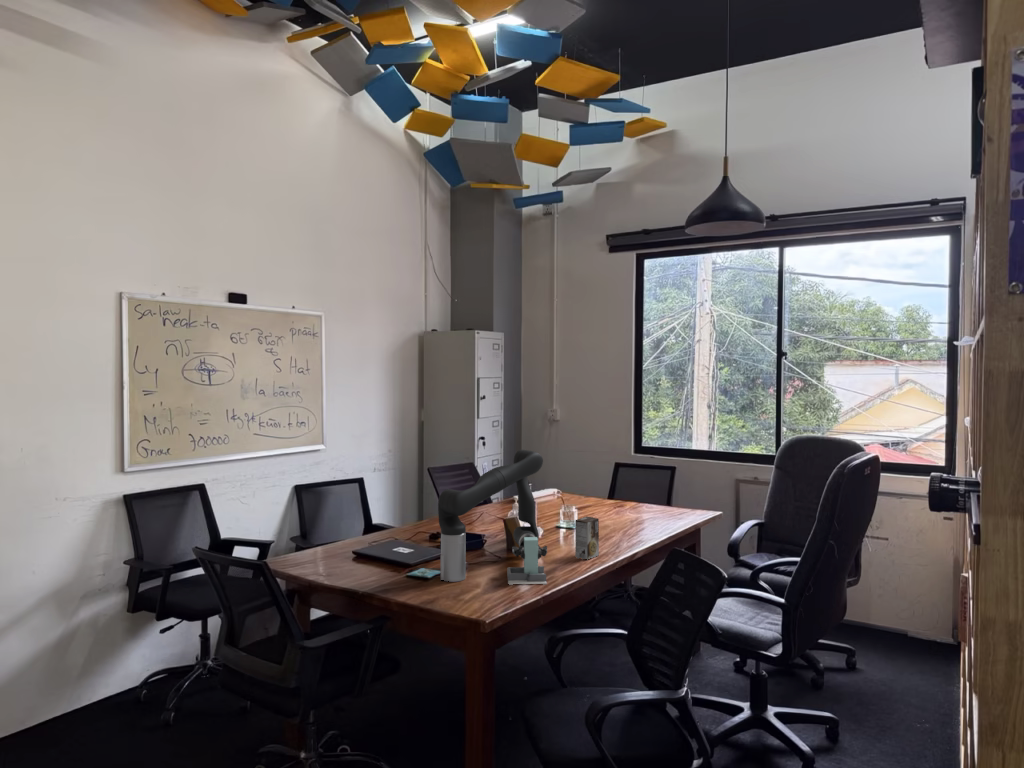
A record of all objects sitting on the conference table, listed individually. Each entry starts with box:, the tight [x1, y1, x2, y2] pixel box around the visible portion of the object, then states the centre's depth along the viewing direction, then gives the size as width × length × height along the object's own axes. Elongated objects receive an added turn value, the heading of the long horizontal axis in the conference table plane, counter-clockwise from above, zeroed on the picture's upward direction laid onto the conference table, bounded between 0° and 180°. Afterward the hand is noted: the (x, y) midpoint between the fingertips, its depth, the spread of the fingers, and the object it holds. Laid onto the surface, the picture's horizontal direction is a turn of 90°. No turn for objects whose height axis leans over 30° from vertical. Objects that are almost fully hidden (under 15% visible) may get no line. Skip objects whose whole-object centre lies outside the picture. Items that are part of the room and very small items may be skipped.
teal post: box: [523, 537, 539, 574], centre depth 248 cm, size 5×5×14 cm
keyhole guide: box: [506, 565, 548, 586], centre depth 249 cm, size 14×15×3 cm
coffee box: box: [574, 516, 600, 561], centre depth 279 cm, size 9×6×16 cm
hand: (531, 556), depth 246 cm, fingers closed on teal post, 5 cm apart
